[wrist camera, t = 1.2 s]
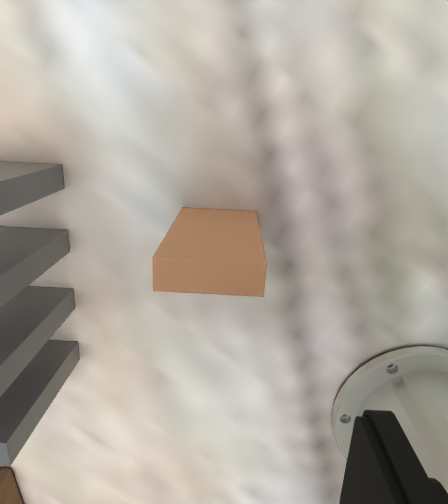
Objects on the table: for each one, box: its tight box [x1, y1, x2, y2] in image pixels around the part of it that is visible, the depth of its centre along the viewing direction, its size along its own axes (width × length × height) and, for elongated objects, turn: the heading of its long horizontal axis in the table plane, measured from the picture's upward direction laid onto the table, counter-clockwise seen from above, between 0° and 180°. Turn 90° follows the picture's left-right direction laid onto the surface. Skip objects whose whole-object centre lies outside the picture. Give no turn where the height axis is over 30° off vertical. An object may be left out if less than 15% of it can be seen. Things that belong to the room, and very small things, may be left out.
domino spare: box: [153, 207, 267, 297], centre depth 22 cm, size 5×2×10 cm, turn 88°
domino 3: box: [0, 286, 75, 397], centre depth 25 cm, size 5×2×10 cm, turn 87°
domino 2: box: [0, 340, 80, 466], centre depth 26 cm, size 5×2×10 cm, turn 87°
